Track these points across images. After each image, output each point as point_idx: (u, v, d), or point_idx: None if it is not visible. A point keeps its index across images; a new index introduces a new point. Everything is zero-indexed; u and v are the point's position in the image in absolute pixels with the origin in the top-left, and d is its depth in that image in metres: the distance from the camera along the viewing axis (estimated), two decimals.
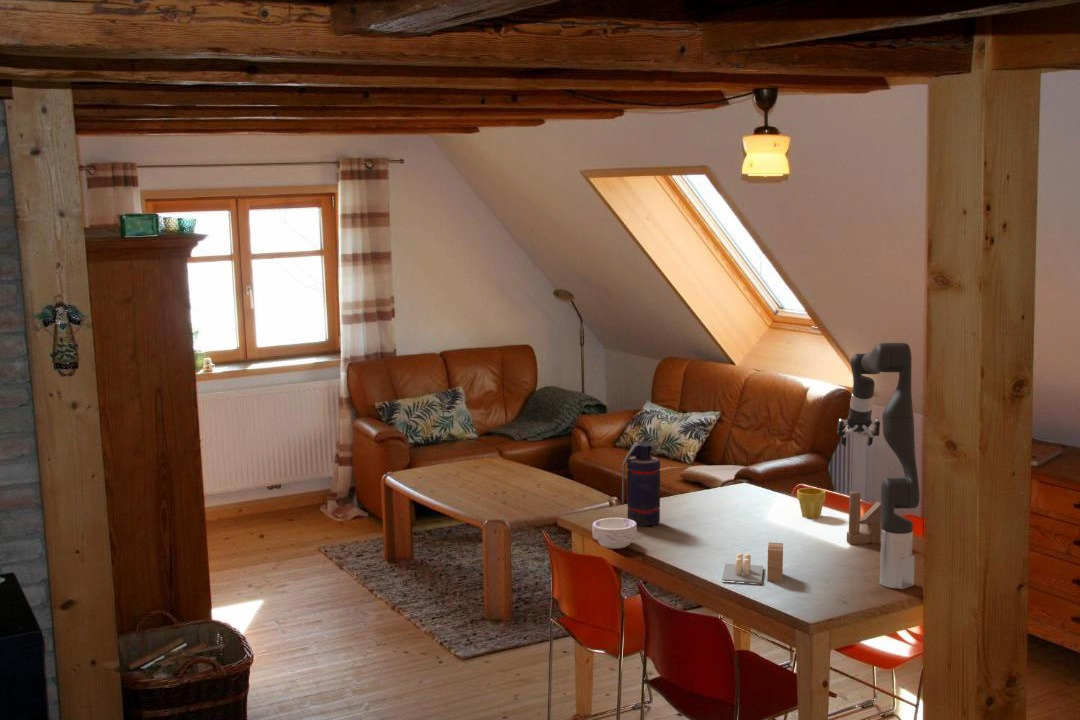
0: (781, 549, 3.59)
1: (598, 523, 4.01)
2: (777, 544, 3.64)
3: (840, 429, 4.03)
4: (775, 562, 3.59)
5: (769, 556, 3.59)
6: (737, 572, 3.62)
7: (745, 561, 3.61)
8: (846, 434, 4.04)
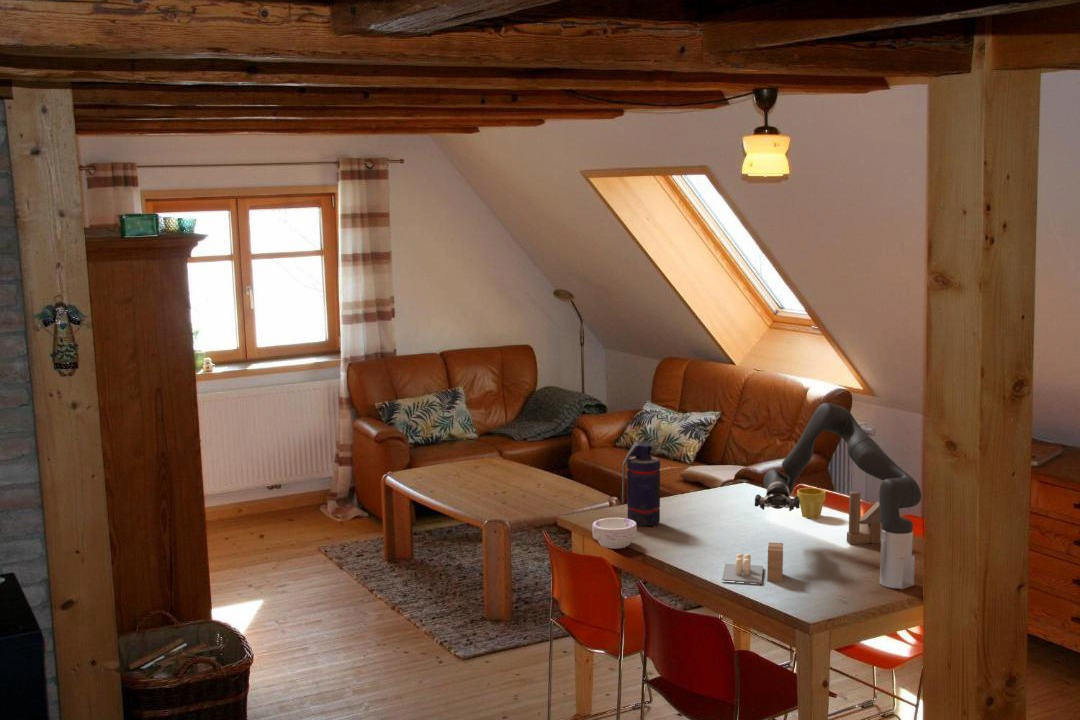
0: (781, 549, 3.59)
1: (598, 523, 4.01)
2: (777, 544, 3.64)
3: (757, 497, 3.79)
4: (775, 562, 3.59)
5: (769, 556, 3.59)
6: (737, 572, 3.62)
7: (745, 561, 3.61)
8: (764, 499, 3.76)
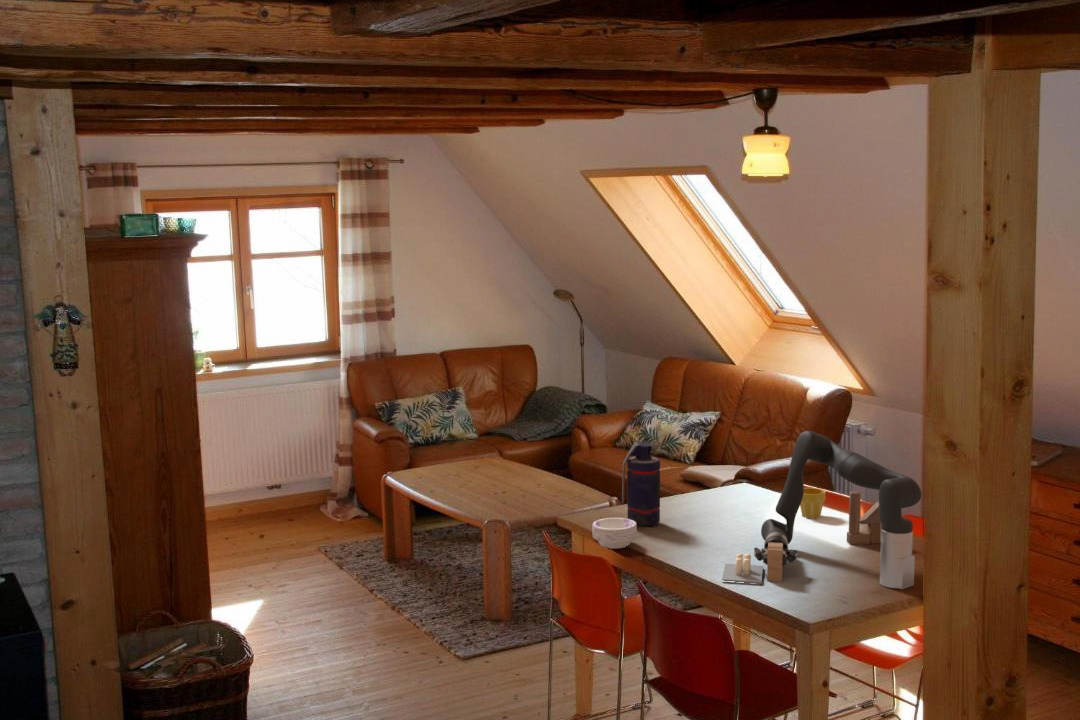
0: (781, 549, 3.59)
1: (598, 523, 4.01)
2: (777, 544, 3.64)
3: (758, 550, 3.67)
4: (775, 562, 3.59)
5: (769, 556, 3.59)
6: (737, 572, 3.62)
7: (745, 561, 3.61)
8: (766, 552, 3.64)
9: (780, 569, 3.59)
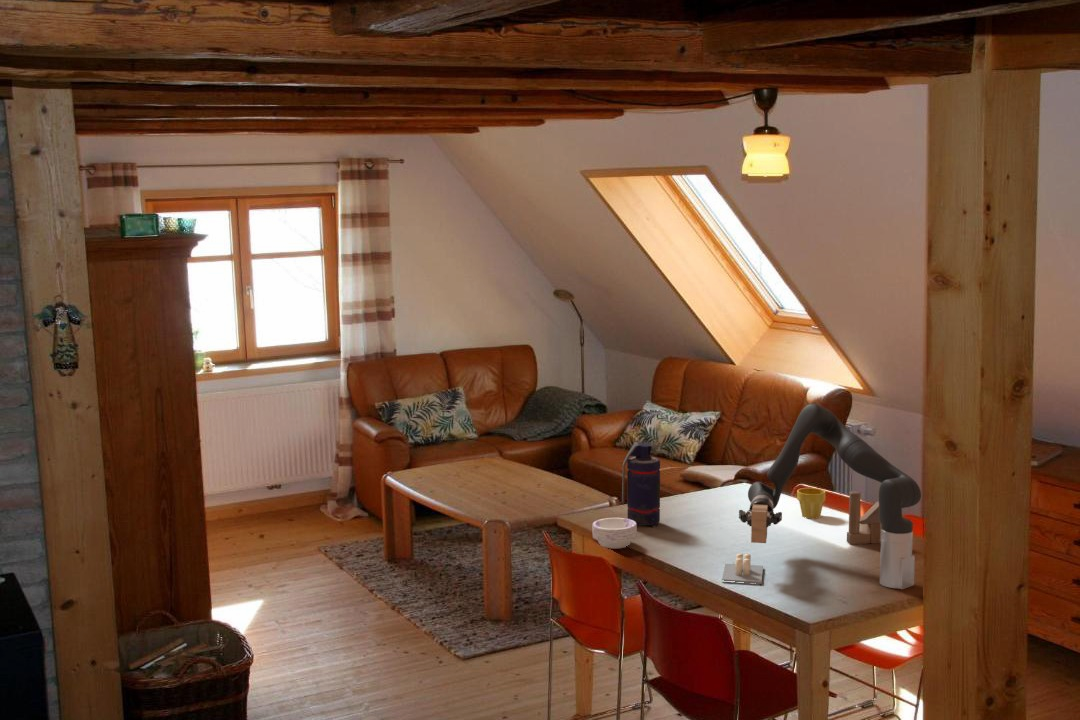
0: (765, 510, 3.59)
1: (598, 523, 4.01)
2: (762, 506, 3.64)
3: (742, 512, 3.67)
4: (759, 524, 3.59)
5: (753, 517, 3.59)
6: (737, 572, 3.62)
7: (745, 561, 3.61)
8: (751, 514, 3.64)
9: (764, 531, 3.59)
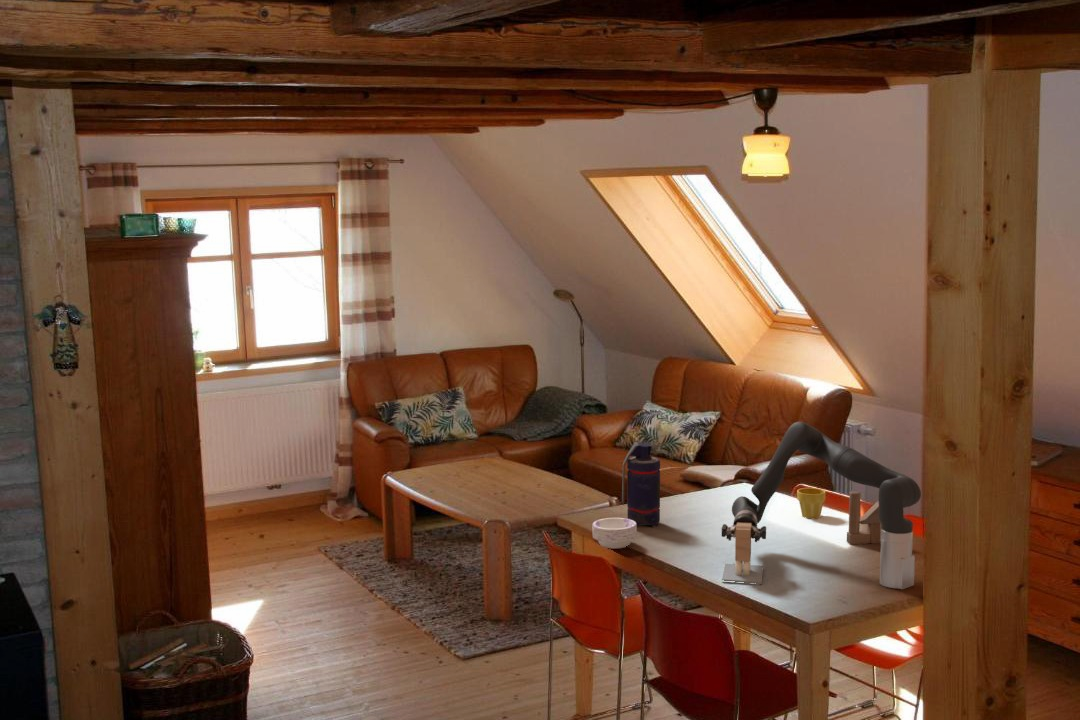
0: (749, 528, 3.60)
1: (598, 523, 4.01)
2: (746, 524, 3.65)
3: (723, 527, 3.69)
4: (743, 542, 3.60)
5: (737, 535, 3.60)
6: (737, 572, 3.62)
7: (745, 561, 3.61)
8: (730, 529, 3.66)
9: (748, 549, 3.60)
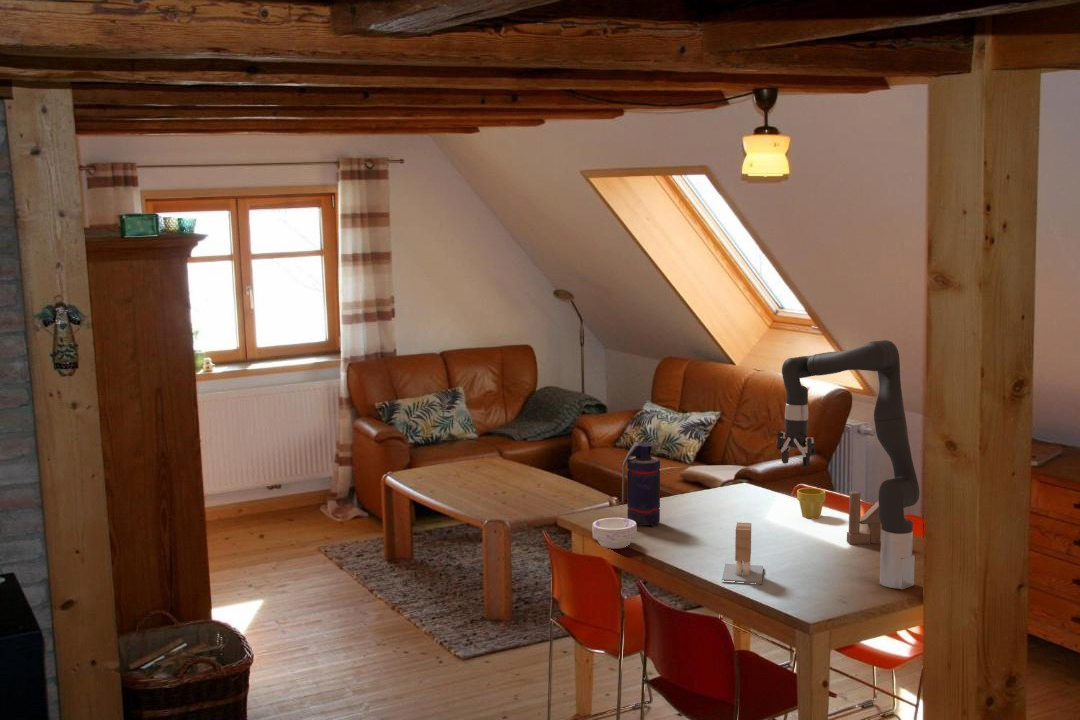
0: (749, 528, 3.60)
1: (598, 523, 4.01)
2: (746, 524, 3.65)
3: (778, 441, 3.87)
4: (743, 542, 3.60)
5: (737, 535, 3.60)
6: (737, 572, 3.62)
7: (745, 561, 3.61)
8: (783, 448, 3.85)
9: (748, 549, 3.60)
